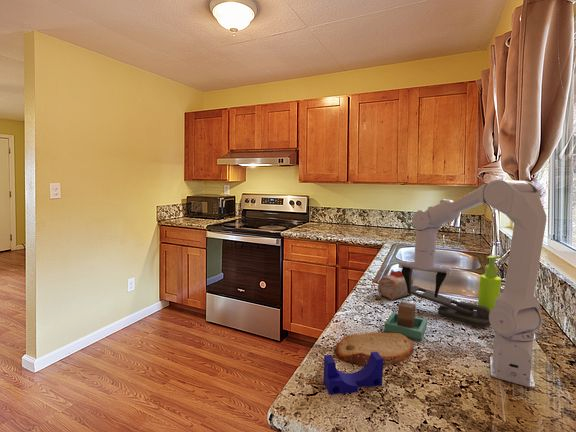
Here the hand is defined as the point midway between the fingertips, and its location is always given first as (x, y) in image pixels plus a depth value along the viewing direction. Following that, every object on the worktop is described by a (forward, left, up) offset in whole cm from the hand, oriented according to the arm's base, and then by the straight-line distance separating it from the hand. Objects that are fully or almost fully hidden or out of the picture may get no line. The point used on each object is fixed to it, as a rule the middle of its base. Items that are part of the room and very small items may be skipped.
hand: (422, 294), depth 98 cm
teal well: (-7, +3, -9) cm, 12 cm away
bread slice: (-24, +7, -10) cm, 27 cm away
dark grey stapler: (+13, -6, -10) cm, 17 cm away
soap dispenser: (+20, -18, -10) cm, 29 cm away
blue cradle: (-41, +7, -10) cm, 43 cm away
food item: (+22, +13, -10) cm, 27 cm away
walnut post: (-7, +3, -9) cm, 12 cm away
